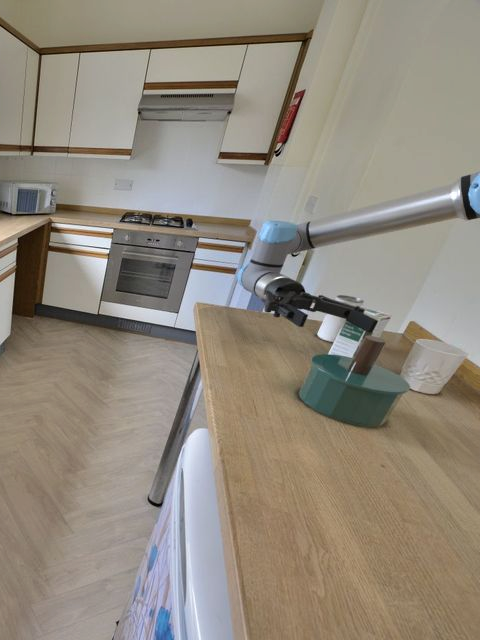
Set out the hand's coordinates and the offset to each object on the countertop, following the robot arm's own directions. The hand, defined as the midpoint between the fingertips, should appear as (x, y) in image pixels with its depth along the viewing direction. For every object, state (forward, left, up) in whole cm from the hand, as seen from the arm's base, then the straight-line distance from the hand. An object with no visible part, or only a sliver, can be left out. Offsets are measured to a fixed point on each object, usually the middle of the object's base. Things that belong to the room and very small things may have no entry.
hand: (338, 323), depth 85 cm
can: (-2, -35, -14) cm, 38 cm away
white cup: (-18, -16, -14) cm, 28 cm away
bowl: (-5, +8, -14) cm, 17 cm away
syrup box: (-5, -16, -14) cm, 22 cm away
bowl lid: (-5, +8, -7) cm, 11 cm away
